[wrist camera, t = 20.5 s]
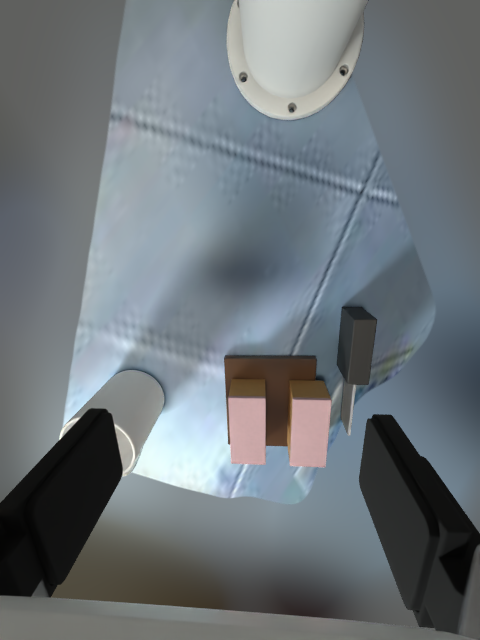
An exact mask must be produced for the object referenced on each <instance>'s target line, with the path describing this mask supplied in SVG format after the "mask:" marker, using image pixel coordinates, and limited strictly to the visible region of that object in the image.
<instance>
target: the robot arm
mask: <svg viewBox="0 0 480 640" xmlns="http://www.w3.org/2000/svg"><path fill="white" fill-rule="evenodd" d="M368 1H369V0H234V2H233V5H232V8H231V10H230V15H229V21H228V26H227V51H228V60H229V64H230V69H231V72H232V75H233V78H234V80H235V83H236V85H237V87H238V88H239V90H240V92H241V94H242V95H243V96H244V98H245V99H246V100H247V101H248V102H249V104H250V105H252V106H253V107H254V108H255V109H257V110H258V111H259V112H261V113H263V114H265V115H267V116H269V117H271V118H276V119H280V120H296V119H301V118H305V117H308V116H310V115H312V114H314V113H317V112H318V111H320V110H321V109H323V108H324V107H325V106H327V105H328V104H329V103H330V102H331V101H332V100H333V99H334V98H335V97H336V96H337V95H338V94H339V93H340V91H341V90H342V89H343V87H344V86H345V84H346V83H347V81H348V80H349V78H350V76H351V74H352V72H353V70H354V68H355V65H356V63H357V60H358V58H359V54H360V50H361V46H362V42H363V33H364V13H363V11H364V9H365V7H366V5H367V3H368ZM340 72H343V73H344V76H343V75H341V74H340ZM242 79H246V82H241V81H242ZM290 108H293V110H294V112H293V113H290V112H289V109H290ZM122 474H123V466H122V461H121V456H120V451H119V446H118V441H117V436H116V431H115V426H114V421H113V416H112V414H111V413H109V412H108V410H107V409H102V408H91V409H88V410H87V411H86V412H85V413H84V414H83V416H82V417H81V418H80V419H79V420H78V421H77V422H76V423H75V424H74V425H73V426H72V427H71V428H70V429H69V430H68V431H67V433H66V434H65V435H64V436H63V437H62V438H61V439H60V440H59V441H58V442H57V443H56V444H55V445H54V446H53V448H52V449H51V450H50V451H49V452H48V453H47V454H46V455H45V456H44V457H43V458H42V459H41V460H40V461H39V463H38V464H37V465H36V466H35V467H34V468H33V469H32V470H31V471H30V472H29V473H28V474H27V475H26V476H25V477H24V478H23V479H22V480H21V482H20V483H19V484H18V485H17V486H16V487H15V488H14V489H13V490H12V491H11V492H10V493H9V494H8V495H7V496H6V497H5V499H4V500H3V501H2V502H1V503H0V640H480V533H479V532H478V531H477V529H476V528H475V526H474V525H473V524H472V522H471V521H470V519H469V518H468V516H467V515H466V514H465V512H464V511H463V509H462V508H461V507H460V505H459V504H458V502H457V501H456V499H455V498H454V497H453V495H452V494H451V493H450V491H449V490H448V488H447V487H446V485H445V484H444V482H443V481H442V480H441V478H440V477H439V475H438V474H437V473H436V471H435V470H434V468H433V467H432V466H431V464H430V463H429V462H428V461H427V459H426V458H424V457H422V456H420V455H419V454H418V452H417V451H416V449H415V448H414V446H413V445H412V443H411V442H410V440H409V439H408V438H407V436H406V435H405V433H404V432H403V430H402V429H401V427H400V426H399V424H398V423H397V422H396V420H395V419H394V418H393V416H392V415H379V414H378V415H376V414H374V415H373V416H372V419H368V420H367V423H366V431H365V438H364V445H363V453H362V460H361V467H360V475H359V483H360V488H361V491H362V494H363V496H364V499H365V501H366V504H367V507H368V509H369V512H370V515H371V517H372V520H373V523H374V525H375V528H376V531H377V533H378V536H379V539H380V541H381V544H382V546H383V549H384V552H385V554H386V557H387V560H388V563H389V565H390V568H391V570H392V573H393V576H394V578H395V581H396V584H397V586H398V589H399V592H400V594H401V597H402V600H403V602H404V604H405V606H406V608H407V609H408V610H413V612H414V615H415V617H416V620H417V622H418V625H419V627H428V628H435V629H436V630H430V629H424V628H417V627H410V626H400V625H390V624H381V623H371V622H361V621H351V620H340V619H327V618H315V617H303V616H291V615H278V614H267V613H255V612H242V611H229V610H215V609H202V608H189V607H176V606H162V605H149V604H135V603H121V602H106V601H91V600H77V599H63V598H51V596H52V594H53V592H54V590H55V589H56V587H57V585H60V584H62V582H63V581H64V580H65V579H66V577H67V575H68V573H69V572H70V570H71V568H72V566H73V564H74V563H75V561H76V559H77V557H78V555H79V553H80V552H81V550H82V548H83V546H84V544H85V543H86V541H87V539H88V537H89V536H90V534H91V532H92V530H93V528H94V526H95V525H96V523H97V521H98V519H99V517H100V516H101V514H102V512H103V510H104V508H105V507H106V505H107V503H108V501H109V499H110V497H111V496H112V494H113V492H114V490H115V489H116V487H117V485H118V483H119V481H120V479H121V477H122ZM31 596H32V597H31Z"/></svg>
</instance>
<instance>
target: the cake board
mask: <svg viewBox="0 0 480 640" xmlns="http://www.w3.org/2000/svg"><path fill="white" fill-rule="evenodd" d="M316 361H317V359H316V357H315V356H233V355H225V358H224V364H225V385H226V405H227V426H228V444H230V428H229V406H228V396H229V391H230V386H231V381H232V379H265V391H266V446H288V444H287V431H288V404H289V381H290V380H309V381H315V377H316Z"/></svg>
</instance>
